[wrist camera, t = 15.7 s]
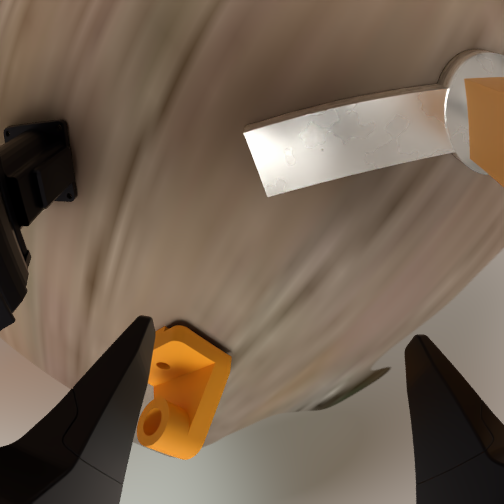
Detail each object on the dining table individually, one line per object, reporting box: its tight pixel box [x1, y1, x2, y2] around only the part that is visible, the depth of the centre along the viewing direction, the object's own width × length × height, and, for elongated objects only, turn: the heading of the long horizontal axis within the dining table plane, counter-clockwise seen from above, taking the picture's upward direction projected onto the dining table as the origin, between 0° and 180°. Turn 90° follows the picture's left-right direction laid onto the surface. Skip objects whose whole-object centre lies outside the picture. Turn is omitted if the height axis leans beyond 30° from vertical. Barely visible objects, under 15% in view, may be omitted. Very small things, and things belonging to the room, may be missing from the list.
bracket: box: [137, 325, 231, 460], centre depth 28 cm, size 11×7×12 cm
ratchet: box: [244, 49, 504, 197], centre depth 15 cm, size 22×9×5 cm, turn 109°
